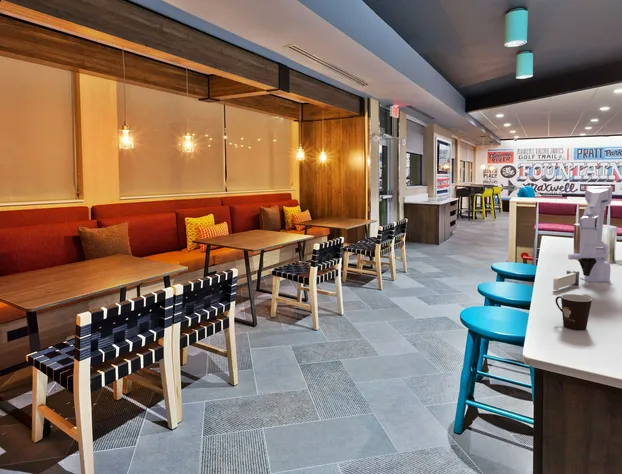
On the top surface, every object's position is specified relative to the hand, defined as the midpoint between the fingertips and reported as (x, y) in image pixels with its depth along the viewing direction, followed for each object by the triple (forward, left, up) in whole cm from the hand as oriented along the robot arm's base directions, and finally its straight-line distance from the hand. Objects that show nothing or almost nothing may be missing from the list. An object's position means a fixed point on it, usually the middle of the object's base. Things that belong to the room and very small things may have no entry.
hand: (586, 275), depth 178 cm
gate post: (-1, -13, -6) cm, 15 cm away
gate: (+7, -4, -6) cm, 10 cm away
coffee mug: (+27, +44, -7) cm, 52 cm away
